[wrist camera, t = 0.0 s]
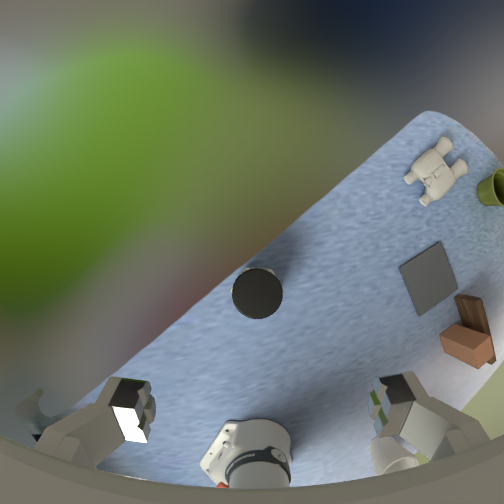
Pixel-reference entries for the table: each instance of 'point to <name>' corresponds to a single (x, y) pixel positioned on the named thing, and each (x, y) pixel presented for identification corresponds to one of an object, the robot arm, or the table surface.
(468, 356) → the marked block
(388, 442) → the foam cup
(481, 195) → the plant pot
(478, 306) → the low board
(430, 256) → the slate pad
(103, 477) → the robot arm
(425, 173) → the binoculars
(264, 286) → the jar
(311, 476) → the table surface
